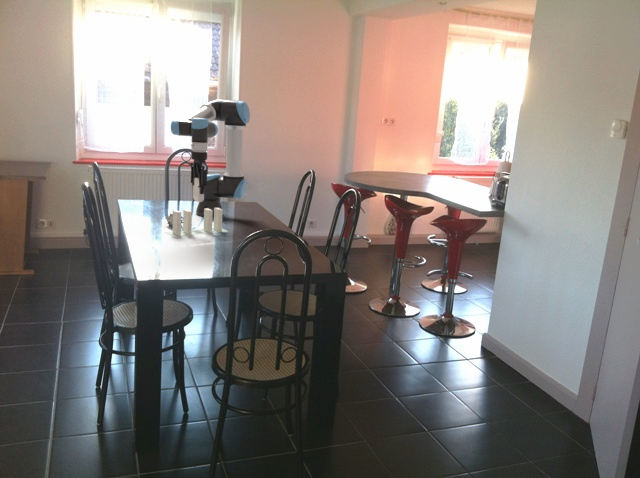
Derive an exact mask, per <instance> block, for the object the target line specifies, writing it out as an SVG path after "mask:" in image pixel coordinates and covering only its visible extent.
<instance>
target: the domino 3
mask: <svg viewBox="0 0 640 478" xmlns="http://www.w3.org/2000/svg"><path fill="white" fill-rule="evenodd" d="M198 186H199V178H195V179H194V199H193V201H195V202H198V203H199V202H202V201H198Z"/></svg>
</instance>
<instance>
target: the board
mask: <svg viewBox="0 0 640 478" xmlns="http://www.w3.org/2000/svg"><path fill="white" fill-rule="evenodd" d="M228 232H230V231H229V230H227V229H224V228H222V231H216V230H214V227H212V232H207V231H204V228H203V229H192V233H191V234H186V233H184V232H183V230H181V235H176V234H174V233H173V231H169V232H168V231H167V232H164V233H165V234H167V235H169V236H170V237H182V236H183V237H184V236H195V235H207V234H217V233H228Z"/></svg>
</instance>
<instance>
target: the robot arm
mask: <svg viewBox="0 0 640 478" xmlns="http://www.w3.org/2000/svg"><path fill="white" fill-rule="evenodd" d="M250 112H251V111H250V107H249V105H248V103H247V102H246V101H243V100H235V99H234V100H232V99H220V98H219V99H215V100H211V101H208V102H206V103H204V104H203V105H201V106H200V107H199V109H198V110H196V111H195V112H194V111H193V112H192V113H191V114H190V115H188V116H186V117H184V118H182V119H174V120H172V121H171V123H170V132H171V134H172V135H174V136H181V137H182V136H183V137H191V143H190V146H191V149H190V150H191V152H190V159H191V160H193V162H190V183H191V185H192V199H193V200H194V179H195V178H199V186H198V201H202V202H198V204H197V207H196V209H195V215H197V216H200V217H204V209H205V208H208V209H211V210H213V213H212V218H214V208H220V209H223V208H222V207H223V206H222V204H221V198H223V199H232V200H241V199H243V198H244V197H245V195H246V193H247V190H248V180H247V179H246V178H245V175H244V173H243V172H242V166H243V138H244V137H243V136H244V134H243V133H244V128H245V127H246V124H248V123H249V122H250V118H251V113H250ZM213 121H214V122H213ZM215 121H216V122H224V127H225V128H226V157H225V159H226V162H225V164H226V165H225V172H224V173H223V174H221V173H208V166H209V165H206V163H205V161H206V160H208V149H209V148H208V144H209V143H208V140H209V139H210V138H211V139H212V138H215V137H216V136H217V134H218V132H219V127H218V125H217V124H216V123H215ZM223 215H224V211H223V212H222V216H223Z"/></svg>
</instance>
